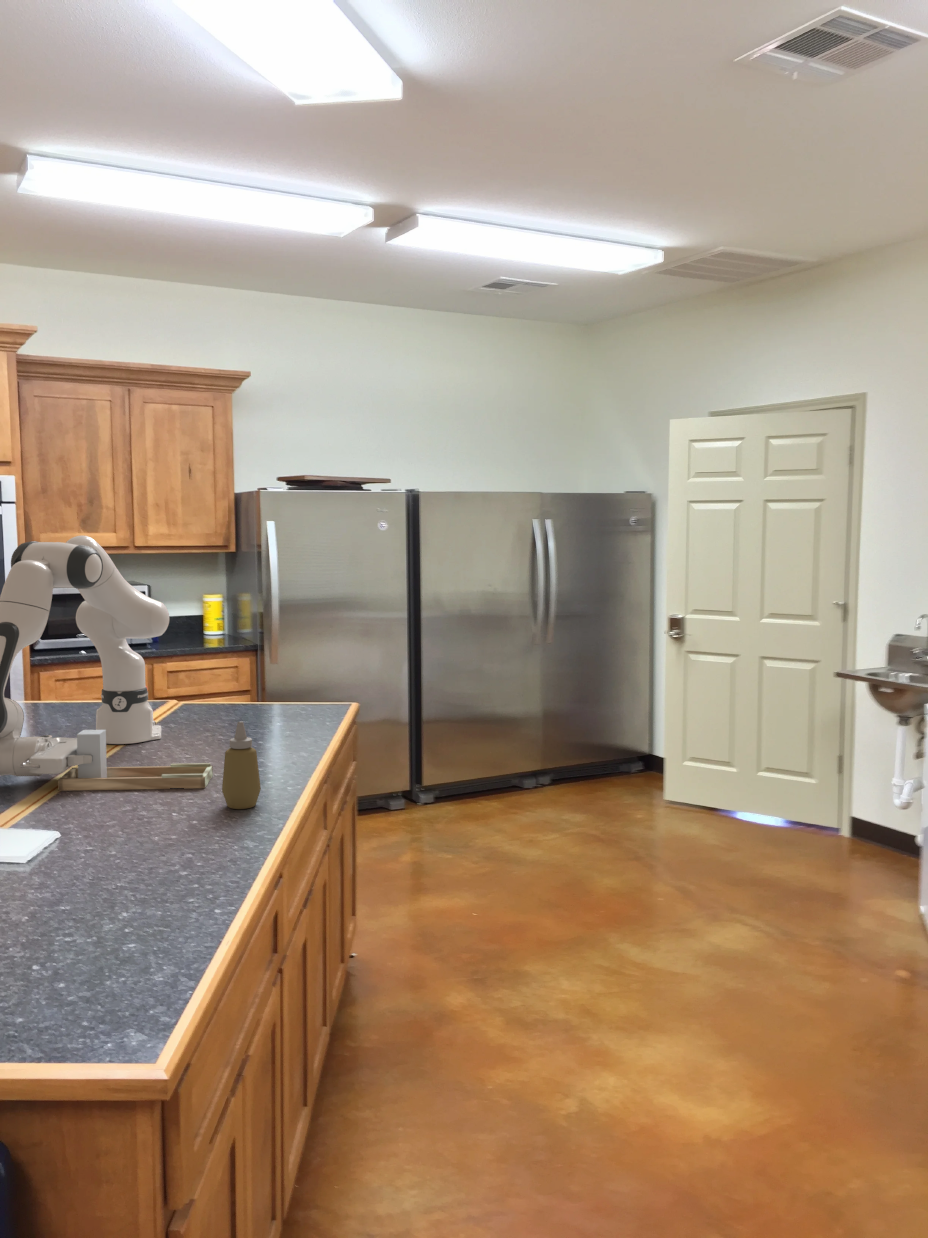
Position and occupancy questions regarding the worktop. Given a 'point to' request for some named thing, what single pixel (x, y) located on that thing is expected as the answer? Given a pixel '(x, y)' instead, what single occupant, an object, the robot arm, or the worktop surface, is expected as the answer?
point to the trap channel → (142, 778)
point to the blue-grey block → (92, 753)
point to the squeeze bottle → (241, 772)
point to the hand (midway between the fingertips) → (96, 755)
